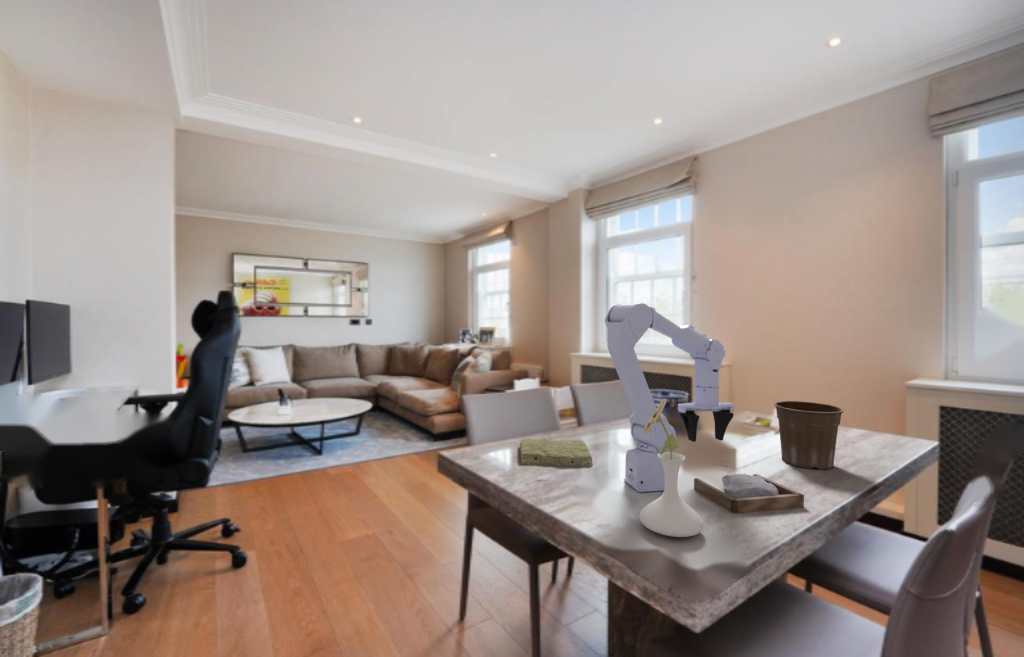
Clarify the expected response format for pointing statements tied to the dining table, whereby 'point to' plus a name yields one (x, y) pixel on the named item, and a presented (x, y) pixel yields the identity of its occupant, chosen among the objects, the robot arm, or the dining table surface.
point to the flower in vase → (669, 493)
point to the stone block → (747, 486)
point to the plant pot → (808, 433)
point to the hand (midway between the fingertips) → (705, 440)
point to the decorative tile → (555, 452)
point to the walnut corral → (752, 498)
